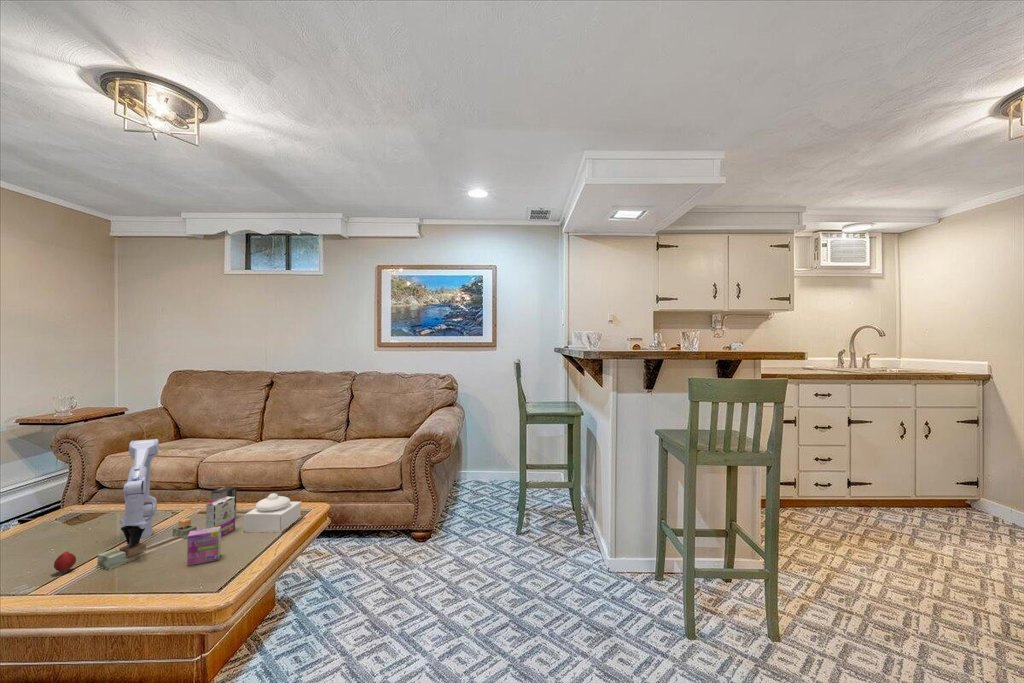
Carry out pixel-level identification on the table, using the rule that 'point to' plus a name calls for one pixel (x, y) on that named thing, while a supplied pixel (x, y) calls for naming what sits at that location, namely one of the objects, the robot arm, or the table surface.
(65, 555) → the onion
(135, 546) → the carriage
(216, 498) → the coffee box
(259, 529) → the butter dish
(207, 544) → the box
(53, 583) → the table surface
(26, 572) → the table surface
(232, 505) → the candy bar box
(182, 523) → the button
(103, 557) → the rail stand
